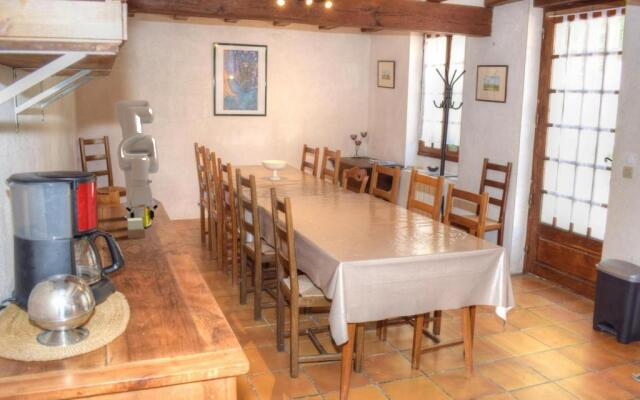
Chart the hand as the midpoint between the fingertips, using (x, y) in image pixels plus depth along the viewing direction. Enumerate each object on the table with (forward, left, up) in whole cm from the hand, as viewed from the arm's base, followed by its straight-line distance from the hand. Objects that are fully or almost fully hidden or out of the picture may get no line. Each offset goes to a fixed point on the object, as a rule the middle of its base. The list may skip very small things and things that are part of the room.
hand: (142, 219), depth 274 cm
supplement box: (0, 0, -4) cm, 4 cm away
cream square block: (+18, -5, 0) cm, 19 cm away
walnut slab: (+18, -5, -4) cm, 19 cm away
